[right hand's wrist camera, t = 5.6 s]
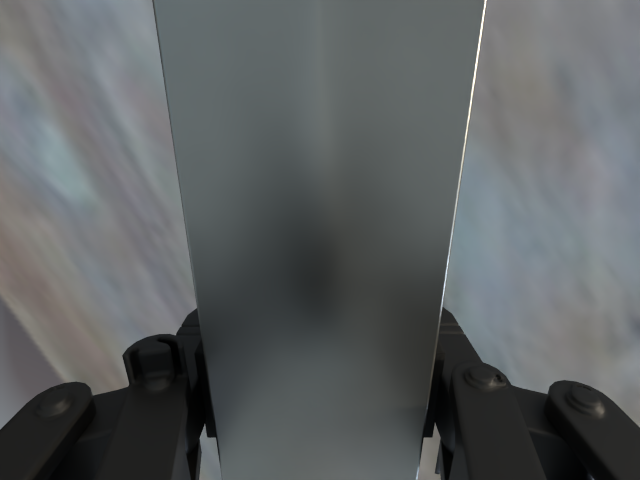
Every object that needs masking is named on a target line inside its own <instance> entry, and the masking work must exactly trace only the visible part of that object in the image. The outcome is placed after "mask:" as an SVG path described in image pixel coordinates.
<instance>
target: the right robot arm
mask: <svg viewBox="0 0 640 480" xmlns="http://www.w3.org/2000/svg"><path fill="white" fill-rule="evenodd" d="M122 356H123V360H124V364H125V368H126V372H127V376H128V380H129V387H126V388H123V389H119V390H115V391H111V392H107V393H102V394H98V395H94V396H93V395H92V392H91V389H90V387H89V386H87V385H86V384H85V383H80V382H70V383H63V384H60V385H57V386H54V387H51V388H49V389H47V390H45V391H44V392H42V393H40V394H38V395H37V396H35V397H34V398H33V399H32V400H30V401H29V402H28V403H27V404H26V405H25V406H24V407H23V408H22V409H21V410H20V411H19V412H18V413H17V414H16V415H15V416H14V417H13V418H12V419H11V420H10V421H9V422H8V423H7V424H6V425H5V426H4V427H3V428H2V429H1V430H0V480H199V474H200V464H201V453H202V452H201V445H200V439H199V438H200V435H201V433H202V430H203V427H204V424H205V425H206V432H207V437H216V433H215V426H214V420H213V413H212V406H211V399H210V392H209V385H208V378H207V372H206V365H205V358H204V351H203V344H202V337H201V330H200V324H199V317H198V310H197V309H195V310H194V311H193V312H191V313H190V314H189V315H188V316H187V317H186V319H185V320H184V322H183V324H182V327H180V328H179V330H178V332H177V333H176V335H171V334H158V335H154V336H149V337H146V338H144V339H142V340H139V341H137V342H136V343H134V344H133V345H131V346H130V347H129V348H128V349H127V350H126V351H125V353H124V354H123V355H122ZM435 423H436V426H437V429H438V431H439V434H440V437H441V439H440V445H439V451H438V457H437V463H436V469H435V473H436V474H441V480H640V428H639V427H638V426H637V425H636V424H635V423H634V422H633V421H632V420H631V419H630V418H629V417H628V416H627V415H626V414H625V413H624V412H623V411H622V410H621V409H620V408H619V407H618V406H617V405H616V404H615V403H614V402H613V401H612V400H611V399H609V398H608V397H607V396H606V395H604V394H603V393H601V392H600V391H598V390H596V389H594V388H592V387H590V386H588V385H585V384H582V383H579V382H574V381H566V380H563V381H557V382H554V383H553V384H552V385H551V386H550V388H549V391H548V394H544V393H539V392H535V391H531V390H526V389H522V388H519V387H515V386H512V385H511V383H510V382H509V380H508V379H507V377H506V376H505V375H504V374H503V373H502V372H500V371H499V370H498V369H497V368H495V367H492V366H490V365H488V364H486V363H483V362H482V361H481V359H480V357H479V356H478V354H477V353H476V351H475V349H474V348H473V346H472V345H471V343H470V342H469V340H468V338H467V337H466V335H465V334H464V332H463V330H462V329H461V327H460V326H458V323H457V321H456V319H455V318H454V316H453V315H452V313H450V312H449V311H447V310H446V309H445V308H443V307H442V314H441V321H440V328H439V335H438V341H437V348H436V355H435V362H434V369H433V376H432V383H431V390H430V396H429V403H428V410H427V417H426V424H425V431H424V437H432V436H433V430H434V424H435Z"/></svg>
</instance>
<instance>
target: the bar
mask: <svg viewBox="0 0 640 480" xmlns="http://www.w3.org/2000/svg"><path fill="white" fill-rule="evenodd" d="M152 1H153V8H154V15H155V22H156V28H157V35H158V42H159V49H160V56H161V63H162V70H163V77H164V83H165V90H166V97H167V104H168V111H169V118H170V125H171V131H172V138H173V145H174V152H175V159H176V166H177V173H178V179H179V186H180V193H181V200H182V207H183V214H184V221H185V227H186V234H187V241H188V248H189V255H190V262H191V269H192V275H193V282H194V289H195V296H196V303H197V310H198V317H199V324H200V330H201V337H202V344H203V351H204V358H205V365H206V372H207V378H208V385H209V392H210V399H211V406H212V413H213V420H214V426H215V433H216V440H217V447H218V454H219V461H220V468H221V474H222V480H417V479H418V472H419V465H420V458H421V452H422V445H423V438H424V431H425V424H426V417H427V410H428V403H429V396H430V390H431V383H432V376H433V369H434V362H435V355H436V348H437V341H438V335H439V328H440V321H441V314H442V307H443V300H444V293H445V286H446V279H447V273H448V266H449V259H450V252H451V245H452V238H453V231H454V224H455V217H456V211H457V204H458V197H459V190H460V183H461V176H462V169H463V162H464V156H465V149H466V142H467V135H468V128H469V121H470V114H471V107H472V100H473V94H474V87H475V80H476V73H477V66H478V59H479V52H480V45H481V38H482V32H483V25H484V18H485V11H486V4H487V0H152Z"/></svg>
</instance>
